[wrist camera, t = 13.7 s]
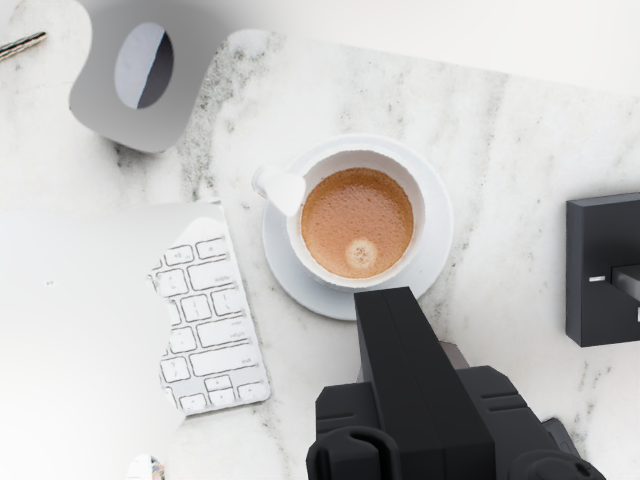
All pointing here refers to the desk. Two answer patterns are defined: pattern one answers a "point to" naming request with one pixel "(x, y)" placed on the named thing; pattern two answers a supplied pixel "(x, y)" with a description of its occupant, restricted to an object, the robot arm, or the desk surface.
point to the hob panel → (601, 269)
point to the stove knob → (627, 280)
